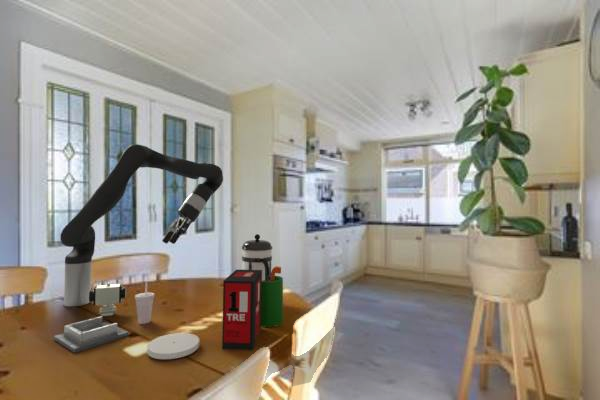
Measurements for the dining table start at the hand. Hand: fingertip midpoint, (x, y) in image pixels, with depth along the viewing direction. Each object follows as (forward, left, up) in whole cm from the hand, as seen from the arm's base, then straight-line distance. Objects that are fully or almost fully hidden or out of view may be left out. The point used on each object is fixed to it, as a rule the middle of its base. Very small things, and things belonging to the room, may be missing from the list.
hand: (167, 242), depth 120 cm
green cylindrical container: (+34, +19, -28) cm, 48 cm away
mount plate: (-2, -25, -28) cm, 37 cm away
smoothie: (-2, -8, -28) cm, 29 cm away
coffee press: (+19, +29, -28) cm, 45 cm away
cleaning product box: (+36, +3, -28) cm, 46 cm away
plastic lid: (+26, -15, -28) cm, 41 cm away
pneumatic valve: (-20, -12, -28) cm, 36 cm away
